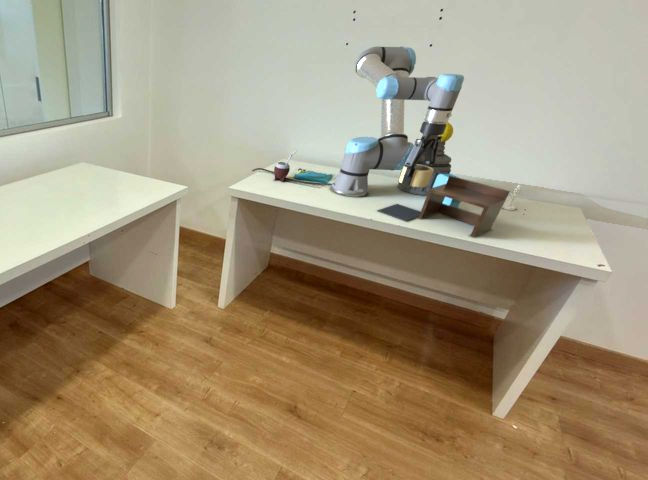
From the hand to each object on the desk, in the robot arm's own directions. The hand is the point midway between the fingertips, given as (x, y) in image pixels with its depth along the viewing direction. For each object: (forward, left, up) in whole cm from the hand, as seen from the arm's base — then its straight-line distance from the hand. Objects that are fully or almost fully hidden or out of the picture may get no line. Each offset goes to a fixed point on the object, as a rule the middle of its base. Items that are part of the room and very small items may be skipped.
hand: (413, 182), depth 158 cm
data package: (+4, +24, -13) cm, 27 cm away
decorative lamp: (-12, +35, -13) cm, 39 cm away
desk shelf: (+16, +7, -13) cm, 22 cm away
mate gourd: (-54, -11, -13) cm, 57 cm away
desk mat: (0, 0, -13) cm, 13 cm away
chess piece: (+20, +45, -13) cm, 51 cm away
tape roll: (0, 0, 0) cm, 0 cm away
